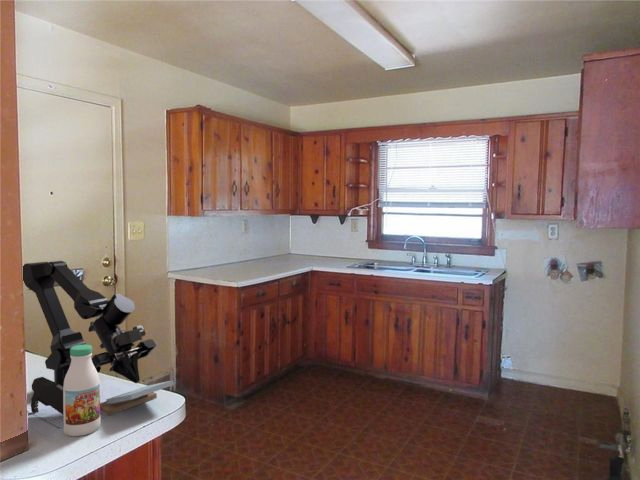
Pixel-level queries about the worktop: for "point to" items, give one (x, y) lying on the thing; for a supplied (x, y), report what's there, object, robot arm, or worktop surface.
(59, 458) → the worktop surface
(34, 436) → the worktop surface
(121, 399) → the flap door
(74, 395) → the milk bottle
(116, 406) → the board
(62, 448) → the worktop surface
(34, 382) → the gun
